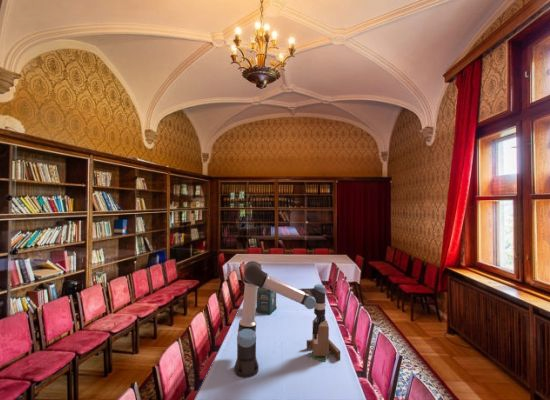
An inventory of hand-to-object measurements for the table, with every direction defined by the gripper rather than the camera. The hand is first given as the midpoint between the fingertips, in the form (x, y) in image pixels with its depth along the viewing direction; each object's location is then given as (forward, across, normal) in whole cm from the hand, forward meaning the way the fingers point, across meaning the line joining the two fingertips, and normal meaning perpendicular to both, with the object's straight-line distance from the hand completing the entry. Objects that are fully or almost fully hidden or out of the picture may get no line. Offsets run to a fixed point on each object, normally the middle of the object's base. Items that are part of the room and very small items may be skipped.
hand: (319, 339), depth 204 cm
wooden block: (+9, 0, 0) cm, 9 cm away
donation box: (+11, +50, +73) cm, 89 cm away
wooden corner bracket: (+11, +3, -2) cm, 11 cm away
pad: (+11, 0, 0) cm, 11 cm away
